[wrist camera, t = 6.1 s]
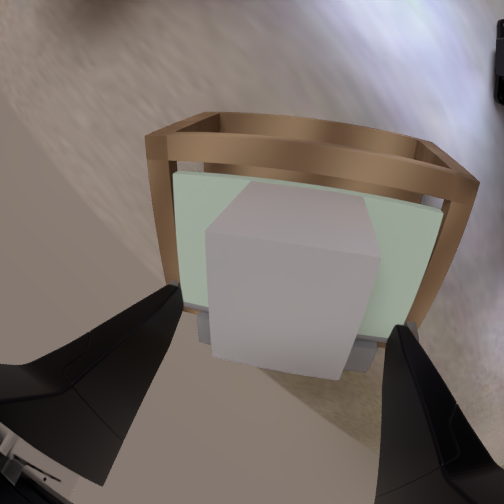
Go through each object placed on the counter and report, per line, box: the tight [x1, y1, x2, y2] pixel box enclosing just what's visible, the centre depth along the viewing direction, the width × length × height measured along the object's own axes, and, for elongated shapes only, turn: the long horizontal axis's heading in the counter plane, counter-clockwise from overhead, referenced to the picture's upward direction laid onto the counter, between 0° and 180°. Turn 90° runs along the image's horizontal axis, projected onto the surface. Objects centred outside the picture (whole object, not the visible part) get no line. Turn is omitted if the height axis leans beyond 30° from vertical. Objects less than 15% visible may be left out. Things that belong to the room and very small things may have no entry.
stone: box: [205, 181, 381, 381], centre depth 11 cm, size 5×5×5 cm
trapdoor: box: [173, 171, 444, 373], centre depth 14 cm, size 12×10×1 cm
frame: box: [145, 112, 480, 348], centre depth 17 cm, size 15×11×9 cm
